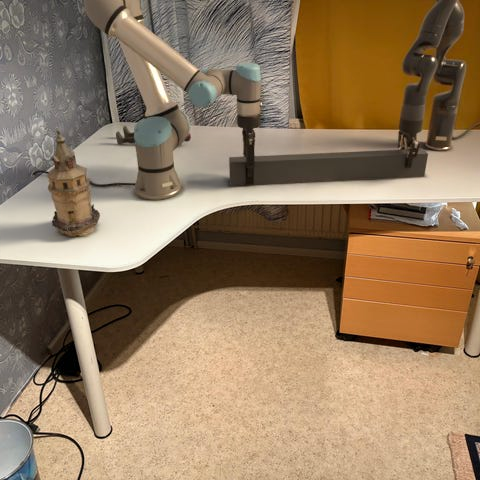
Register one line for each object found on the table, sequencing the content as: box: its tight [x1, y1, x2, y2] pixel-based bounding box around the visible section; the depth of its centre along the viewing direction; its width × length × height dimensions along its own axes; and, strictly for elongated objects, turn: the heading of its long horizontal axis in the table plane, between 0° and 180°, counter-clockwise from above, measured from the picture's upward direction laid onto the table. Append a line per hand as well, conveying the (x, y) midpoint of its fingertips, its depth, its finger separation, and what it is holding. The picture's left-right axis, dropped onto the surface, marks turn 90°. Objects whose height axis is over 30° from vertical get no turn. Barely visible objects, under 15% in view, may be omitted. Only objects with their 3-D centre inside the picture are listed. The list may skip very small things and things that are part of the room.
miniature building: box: [46, 129, 101, 237], centre depth 148 cm, size 13×14×30 cm
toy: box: [115, 125, 192, 145], centre depth 218 cm, size 26×6×30 cm
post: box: [228, 148, 429, 187], centre depth 183 cm, size 68×5×8 cm, turn 95°
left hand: (248, 180), depth 183 cm, fingers closed on post, 5 cm apart
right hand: (405, 164), depth 186 cm, fingers closed on post, 5 cm apart
